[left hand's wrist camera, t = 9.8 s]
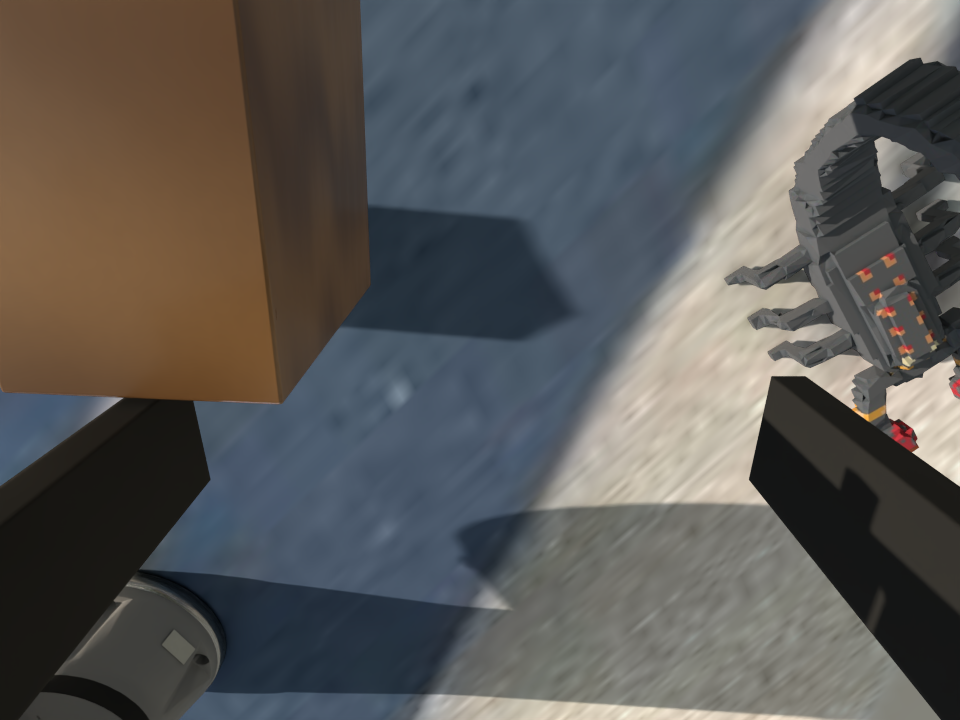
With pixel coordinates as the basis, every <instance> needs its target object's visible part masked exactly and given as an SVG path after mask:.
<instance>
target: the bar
mask: <svg viewBox="0 0 960 720" xmlns="http://www.w3.org/2000/svg"><path fill="white" fill-rule="evenodd" d="M370 285H371V282H370V255H369V228H368V202H367V175H366V148H365V122H364V95H363V68H362V42H361V15H360V0H0V387H1V390H2V391H3V392H5V393H29V394H52V395H75V396H98V397H121V398H145V399H168V400H191V401H214V402H238V403H261V404H282V403H283V402H284V401H285V399H286V398H287V397H288V395H289V394H290V393H291V391H292V390H293V389H294V387H295V386H296V385H297V383H298V382H299V381H300V379H301V378H302V377H303V375H304V374H305V373H306V371H307V370H308V368H309V367H310V366H311V364H312V363H313V362H314V360H315V359H316V358H317V356H318V355H319V354H320V352H321V351H322V350H323V348H324V347H325V346H326V344H327V343H328V342H329V340H330V339H331V338H332V336H333V335H334V334H335V332H336V331H337V330H338V328H339V327H340V326H341V324H342V323H343V321H344V320H345V319H346V317H347V316H348V315H349V313H350V312H351V311H352V309H353V308H354V307H355V305H356V304H357V303H358V301H359V300H360V299H361V297H362V296H363V295H364V293H365V292H366V291H367V289H368V288H369V287H370Z"/></svg>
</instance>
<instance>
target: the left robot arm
mask: <svg viewBox="0 0 960 720" xmlns="http://www.w3.org/2000/svg"><path fill="white" fill-rule="evenodd" d="M749 480H750V482H751V483H752V484H753V485H754V487H755V488H756V489H757V490H758V492H759V493H760V494H761V495H762V497H763V498H764V499H765V500H766V502H767V503H768V504H769V505H770V507H771V508H772V509H773V510H774V512H775V513H776V514H777V515H778V517H779V518H780V519H781V520H782V522H783V523H784V524H785V525H786V527H787V528H788V529H789V530H790V532H791V533H792V534H793V535H794V537H795V538H796V539H797V540H798V542H799V543H800V544H801V545H802V547H803V548H804V549H805V550H806V552H807V553H808V554H809V555H810V557H811V558H812V559H813V560H814V562H815V563H816V564H817V565H818V567H819V568H820V569H821V570H822V572H823V573H824V574H825V575H826V577H827V578H828V579H829V580H830V582H831V583H832V584H833V585H834V587H835V588H836V589H837V590H838V592H839V593H840V594H841V595H842V597H843V598H844V599H845V600H846V602H847V603H848V604H849V605H850V607H851V608H852V609H853V610H854V612H855V613H856V614H857V615H858V617H859V618H860V619H861V620H862V622H863V623H864V624H865V625H866V627H867V628H868V629H869V630H870V632H871V633H872V634H873V635H874V637H875V638H876V639H877V640H878V642H879V643H880V644H881V645H882V647H883V648H884V649H885V650H886V652H887V653H888V654H889V655H890V657H891V658H892V659H893V660H894V662H895V663H896V664H897V665H898V667H899V668H900V669H901V670H902V672H903V673H904V674H905V675H906V677H907V678H908V679H909V680H910V682H911V683H912V684H913V685H914V687H915V688H916V689H917V690H918V692H919V693H920V694H921V695H922V697H923V698H924V699H925V700H926V702H927V703H928V704H929V705H930V707H931V708H932V709H933V710H934V712H935V713H936V714H937V715H938V717H939V718H940V719H941V720H960V487H959V486H958V485H957V484H955V483H954V482H952V481H951V480H950V479H948V478H947V477H945V476H944V475H943V474H941V473H940V472H938V471H937V470H936V469H934V468H933V467H931V466H930V465H929V464H927V463H926V462H924V461H923V460H922V459H920V458H919V457H917V456H916V455H915V454H913V453H912V452H910V451H909V450H908V449H906V448H905V447H903V446H902V445H901V444H899V443H898V442H896V441H895V440H894V439H892V438H891V437H889V436H888V435H887V434H885V433H884V432H882V431H881V430H880V429H878V428H877V427H876V426H874V425H873V424H871V423H870V422H869V421H867V420H866V419H864V418H863V417H862V416H860V415H859V414H857V413H856V412H855V411H853V410H852V409H850V408H849V407H848V406H846V405H845V404H843V403H842V402H841V401H839V400H838V399H836V398H835V397H834V396H832V395H831V394H829V393H828V392H827V391H825V390H824V389H822V388H821V387H820V386H818V385H817V384H815V383H814V382H813V381H811V380H810V379H808V378H807V377H806V376H772V377H771V381H770V386H769V390H768V395H767V399H766V404H765V409H764V413H763V418H762V422H761V427H760V431H759V436H758V441H757V445H756V450H755V454H754V459H753V463H752V468H751V472H750V477H749ZM209 481H210V475H209V471H208V466H207V462H206V457H205V452H204V448H203V443H202V439H201V434H200V430H199V425H198V421H197V416H196V411H195V407H194V402H193V401H191V400H168V399H145V398H123V399H122V400H120V401H119V402H117V403H116V404H115V405H113V406H112V407H110V408H109V409H108V410H106V411H105V412H103V413H102V414H101V415H99V416H98V417H96V418H95V419H94V420H92V421H91V422H89V423H88V424H87V425H85V426H84V427H82V428H81V429H80V430H78V431H77V432H75V433H74V434H73V435H71V436H70V437H68V438H67V439H66V440H64V441H63V442H62V443H60V444H59V445H57V446H56V447H55V448H53V449H52V450H50V451H49V452H48V453H46V454H45V455H43V456H42V457H41V458H39V459H38V460H36V461H35V462H34V463H32V464H31V465H29V466H28V467H27V468H25V469H24V470H22V471H21V472H20V473H18V474H17V475H15V476H14V477H13V478H11V479H10V480H8V481H7V482H6V483H4V484H3V485H1V486H0V720H179V719H180V718H181V717H182V716H183V715H184V713H185V712H186V711H187V710H188V709H189V708H190V707H191V706H192V705H193V704H194V703H195V702H196V701H197V700H198V699H199V698H200V697H201V695H202V694H203V693H204V692H205V691H206V690H207V688H208V687H209V686H210V685H211V684H212V682H213V680H214V679H215V677H216V675H217V673H218V671H219V669H220V667H221V665H222V662H223V660H224V657H225V653H226V639H225V634H224V631H223V628H222V626H221V624H220V622H219V620H218V619H217V617H216V616H215V614H214V613H213V612H212V611H211V609H210V608H209V607H208V606H207V605H206V604H205V603H204V602H203V601H202V600H200V599H199V598H198V597H197V596H195V595H194V594H193V593H191V592H190V591H188V590H186V589H185V588H183V587H181V586H179V585H177V584H175V583H173V582H171V581H169V580H166V579H163V578H160V577H157V576H154V575H150V574H146V573H140V572H137V571H138V570H139V568H140V567H141V566H142V565H143V563H144V562H145V561H146V560H147V558H148V557H149V556H150V555H151V553H152V552H153V551H154V550H155V548H156V547H157V546H158V545H159V543H160V542H161V541H162V540H163V538H164V537H165V536H166V535H167V533H168V532H169V531H170V530H171V528H172V527H173V526H174V525H175V523H176V522H177V521H178V520H179V518H180V517H181V516H182V515H183V513H184V512H185V511H186V510H187V508H188V507H189V506H190V505H191V503H192V502H193V501H194V500H195V498H196V497H197V496H198V495H199V493H200V492H201V491H202V490H203V488H204V487H205V486H206V485H207V483H208V482H209Z"/></svg>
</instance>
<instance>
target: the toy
mask: <svg viewBox="0 0 960 720" xmlns="http://www.w3.org/2000/svg"><path fill="white" fill-rule="evenodd" d="M854 100H855V101H854V102H852V103H851V104H849V105H848V106H847V107H846V108H844V109H843V110H841V111H840V112H838V113H837V114H835V115H834V116H833V117H831V118H830V119H829V120H828V122H827V123H826V124H825V125H824V126H825V127H824V128H822V129H821V130H820V133H819V134H817V135H816V136H815V137H816V138H815V139H813V140H812V141H811V142H812V145H811V146H810V148H809V150H807V151H806V152H805V156H803V157H802V158H800V159H799V160H797V161H796V162H794V164H795V166H794V169H795V171H796V173H797V175H795V176H796V179H795V183H796V184H795V186H794V188H792V189H790V190H789V195H790V201H791V205H792V209H793V212H794V216H795V219H796V232H797V235H798V239H799V243H800V245H798V246H797V247H796V248H794V249H793V250H791V251H790V252H788V253H787V254H786V255H784V256H783V257H781V258H780V259H777V260H775V261H773V262H772V263H770V264H768V265H767V266H765V267H763V268H761V269H760V270H752V269H749V268H747V267H745V266H743V267H741V268H740V269H738V270H737V271H735V272H734V273H732V274H730V275H729V276H727V277H726V278H724V279H725V281H726V283H727V284H728V285H732V284H737V283H741V282H744V281H747V282H749V283H751V284H753V285H755V286H757V287H759V288H761V289H765V290H766V289H768V288H769V287H771V286H773V285H774V284H776V283H777V282H779V281H780V280H782V279H785V280H786V279H788V278H789V277H791V276H792V275H794V274H795V273H797V272H798V271H799V270H801V269H802V268H803V269H804V271H805V273H806V275H807V277H808V279H809V281H810V283H811V285H812V286H813V287H814V288H815V289H816V291H817V294H818V296H819V298H815V299H812V300H810V301H808V302H806V303H804V304H803V305H801V306H799V307H797V308H795V309H793V310H792V311H790V312H787V313H785V314H783V313H781V312H780V314H779V315H777V314H775V313H774V312H772V311H771V310H770V309H764V308H762V309H761V310H759V311H757V312H756V313H754V314H753V315H751V316H749V317H748V320H749V322H750V323H751V325H752V327H753V328H755V329H756V330H758V329H760V328H763V327H765V326H767V325H770V324H773V325H777V326H778V327H779V328H780V329H782V330H789V331H795V330H797V329H799V328H800V327H802V326H804V325H806V324H807V323H809V322H811V321H813V320H814V319H816V318H818V317H820V316H821V315H824V314H827V315H828V317H829V319H830V320H831V322H832V323H833V324H835V325H837V326H838V327H840V328H842V329H841V330H840V331H838V332H836V333H835V334H833V335H832V336H829V337H827V338H825V339H822V340H820V341H818V342H816V343H814V344H812V345H810V346H808V347H806V348H802V347H798V346H795V345H793V344H791V343H790V342H788V341H785V342H783V343H781V344H780V345H778V346H776V347H775V348H773V349H771V350H770V351H768V354H769V355H770V357H771V358H772V359H773V360H774V361H776V360H778V359H780V358H783V357H786V356H790V357H791V358H793V359H794V360H796V361H797V362H799V363H800V364H802V365H803V366H805V367H809V368H811V367H814V366H816V365H818V364H820V363H823V362H825V361H827V360H829V359H831V358H833V357H835V356H837V355H839V354H841V353H843V352H845V351H847V350H849V349H851V348H853V349H854V350H856V351H858V352H859V354H860V356H861V357H862V358H863V359H865V360H866V361H868V362H870V363H871V364H873V365H874V366H872V367H870V368H868V369H866V370H864V371H862V372H860V373H858V374H856V375H854V376H855V379H854V380H852V382H853V383H854V384H855V385H856V387H855V388H853V389H851V390H852V393H853V395H854V397H855V398H854V399H853V400H852V401H853V402H854V403H855V406H856V407H855V408H853V409H852V410H853V411H855V412H856V413H857V414H859V415H860V416H862V417H863V418H864V419H866V420H867V421H869V422H870V423H871V424H873V425H874V426H876V427H877V428H878V429H880V430H881V431H882V432H884V433H885V434H887V435H888V436H889V437H891V438H892V439H894V440H895V441H896V442H898V443H899V444H901V445H902V446H903V447H905V448H906V449H908V450H909V451H910V452H913V451H914V450H916V449H917V448H919V447H918V445H917V443H916V440H917V436H916V434H915V432H914V430H913V429H912V428H911V427H909V426H908V425H907V424H905V423H904V422H902V421H901V420H900V419H898V420H896V421H893V420H891V419H889V418H888V416H887V414H886V388H888V387H889V386H891V385H894V386H898V385H900V384H902V383H904V382H908V381H910V380H912V379H914V378H923V373H924V372H925V371H927V370H928V369H930V368H931V367H933V366H934V365H936V364H938V363H939V362H941V361H942V360H944V359H945V358H947V357H948V356H950V355H951V354H952V356H953V358H954V361H955V363H956V367H955V368H954V369H953V370H954V372H955V374H956V375H954V376H952V377H950V378H949V380H950V381H951V382H950V383H949V385H950V387H951V390H952V392H953V394H954V396H955V397H956V398H958V399H960V308H954V307H953V308H951V309H950V310H948V311H947V312H945V313H944V314H942V315H941V316H939V317H938V315H939V314H941V313H942V312H941V309H940V307H939V305H938V302H937V300H936V298H935V297H936V296H937V295H939V294H940V293H942V292H943V291H945V290H946V289H948V288H949V287H951V286H952V285H953V284H955V283H956V282H958V281H959V280H960V239H959V238H957V237H955V236H952V235H953V234H955V233H956V231H957V230H958V229H959V227H960V213H957V212H951V211H946V210H947V209H948V203H947V201H945V200H940V199H937V200H936V201H934V202H933V203H931V204H929V205H928V206H926V207H924V208H923V209H921V210H920V211H918V212H916V215H917V217H918V219H919V220H920V221H925V222H931V223H930V224H928V225H927V226H925V227H924V228H923V229H921V230H920V231H918V232H917V233H915V234H914V235H913V233H912V231H911V229H910V227H909V225H908V222H907V220H906V218H905V216H904V214H903V212H902V211H901V210H902V209H904V208H905V207H907V206H908V205H909V204H911V203H912V202H914V201H915V200H917V199H918V198H920V197H921V196H923V195H924V194H926V193H927V192H929V191H930V190H932V189H933V188H934V187H936V186H937V185H938V184H940V183H941V182H943V181H944V180H945V178H944V175H943V173H951V174H955V175H956V176H957V178H958V179H959V180H960V71H958V70H957V68H956V67H952V66H946V65H944V64H942V63H940V62H938V61H936V62H931V63H925V64H923V62H922V60H921V58H916V59H911V60H909V61H907V62H906V63H904V64H903V65H901V66H900V67H898V68H897V69H896V70H894V71H893V72H891V73H890V74H888V75H887V76H885V77H884V78H883V79H881V80H880V81H878V82H877V83H875V84H874V85H872V86H871V87H870V88H868V89H867V90H865V91H864V92H862V93H861V94H859V95H858V96H857V97H855V98H854ZM880 137H885V138H888V139H890V140H891V141H892V142H897V143H900V144H902V145H904V146H906V147H907V148H908V149H910V150H913V151H916V152H919V153H917V154H916V155H914V156H912V157H911V158H909V159H908V160H906V161H905V162H903V163H902V164H900V165H901V167H902V169H903V172H904V173H903V174H904V175H905V176H906V177H908V178H910V180H908V181H907V182H905V183H904V185H902V186H901V187H899V188H898V189H896V190H895V191H893V192H891V190H889V189H886V188H884V187H881V180H880V176H881V175H880V173H879V170H878V165H877V161H878V159H877V154H876V153H877V152H878V151H877V149H876V148H875V143H874V141H875V140H877V139H878V138H880ZM930 162H931V163H932V165H933V166H934V167H930V165H931V164H930ZM950 236H952V237H951V238H949V239H948V240H946V241H945V242H943V243H942V244H940V243H941V242H942V241H944V240H945V239H947V238H948V237H950ZM939 244H940V245H939ZM934 250H935V251H936V252H937V254H938V256H940V257H943V258H946V259H949V261H948V262H946V263H945V264H943V265H942V266H941V267H939V268H938V269H936V270H935V271H933V272H932V270H931V268H930V266H929V264H928V262H927V260H926V258H925V256H924V255H926V254H928V253H930V252H932V251H934Z"/></svg>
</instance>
